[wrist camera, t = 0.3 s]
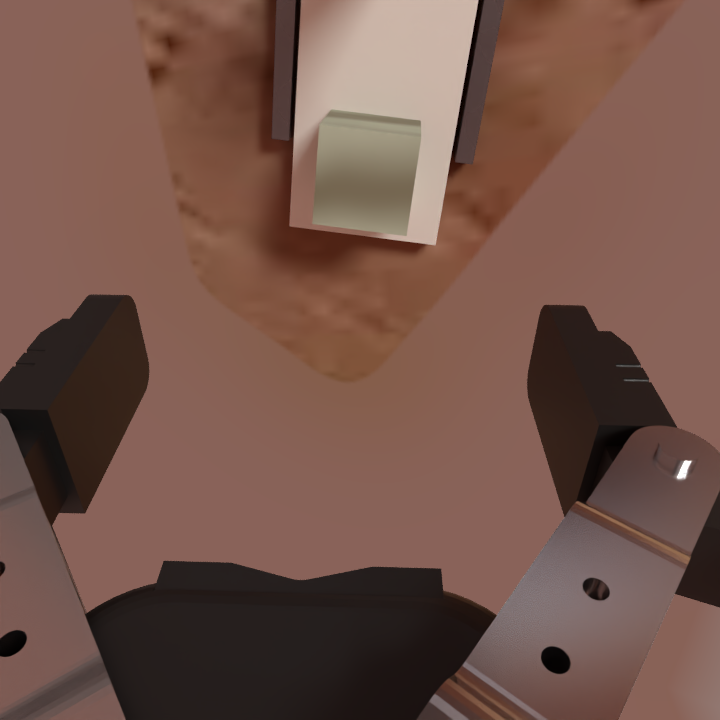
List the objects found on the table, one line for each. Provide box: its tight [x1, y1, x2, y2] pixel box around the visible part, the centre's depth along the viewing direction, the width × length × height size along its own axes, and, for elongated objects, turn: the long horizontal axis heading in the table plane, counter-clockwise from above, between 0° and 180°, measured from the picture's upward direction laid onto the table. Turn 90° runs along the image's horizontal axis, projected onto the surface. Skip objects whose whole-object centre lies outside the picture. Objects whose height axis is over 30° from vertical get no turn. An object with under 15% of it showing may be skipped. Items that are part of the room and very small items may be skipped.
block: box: [312, 109, 421, 236], centre depth 34 cm, size 5×5×5 cm
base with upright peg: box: [289, 0, 478, 245], centre depth 28 cm, size 20×9×16 cm, turn 174°
